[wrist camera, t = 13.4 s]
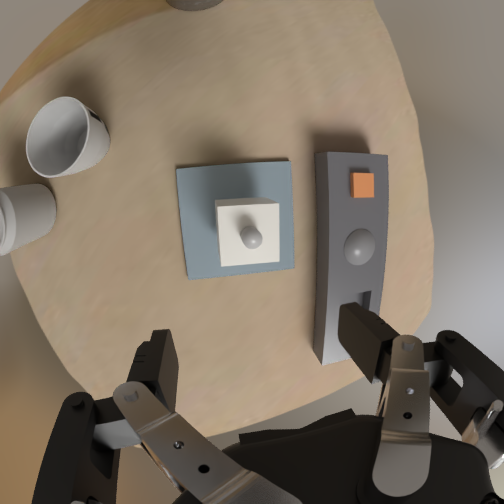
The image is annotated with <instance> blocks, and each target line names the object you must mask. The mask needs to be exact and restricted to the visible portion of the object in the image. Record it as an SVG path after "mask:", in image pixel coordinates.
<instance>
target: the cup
mask: <svg viewBox="0 0 504 504" xmlns="http://www.w3.org/2000/svg"><path fill="white" fill-rule="evenodd" d="M109 146H110V137H109V133H108V130H107V127H106V125H105V124H104V123H103V121H102V120H101V119H100V118H99V117H98V115H97V114H96V113H95V112H94V111H93V110H91V109H90V108H88V107H87V106H86V105H84V104H83V103H81V102H80V101H79V100H77V99H75V98H72V97H59V98H56V99H54V100H52V101H50V102H48V103H47V104H46V105H45V106H43V107H42V108H41V109H40V111H39V112H38V113H37V114H36V116H35V117H34V119H33V121H32V123H31V125H30V128H29V130H28V134H27V139H26V154H27V158H28V161H29V163H30V165H31V167H32V169H33V170H34V171H35V172H36V173H37V174H39V175H41V176H43V177H48V178H53V177H58V176H64V175H69V174H75V173H78V172H80V171H83V170H85V169H88V168H90V167H92V166H94V165H95V164H97V163H98V162H99V161H100V160H101V159H102V158H103V157H104V156H105V155H106V154H107V152H108V149H109Z"/></svg>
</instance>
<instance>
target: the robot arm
mask: <svg viewBox="0 0 504 504" xmlns="http://www.w3.org/2000/svg"><path fill="white" fill-rule="evenodd" d="M166 1H167V2H168V3H169V4H170V5H171V6H173V7H175V8H177V9H181V10H188V11H197V10H204V9H207V8H211V7H213V6H215V5H217V4H219V3H220V2H222V1H223V0H166ZM338 339H339V342H340V344H341V345H342V346H343V348H344V349H345V350H346V352H347V353H348V354H349V356H350V357H351V358H352V359H353V361H354V362H355V363H356V365H357V366H358V367H359V368H360V370H361V371H362V372H363V374H364V375H365V376H366V378H367V379H368V380H369V382H370V383H371V384H374V383H376V382H379V381H381V382H382V383H383V384H382V387H381V391H380V397H379V402H378V407H377V411H376V415H375V416H374V415H355V413H354V412H353V410H352V409H348V410H345V411H341V412H338V413H335V414H332V415H328V416H325V417H324V418H321V419H320V420H317V421H316V422H313V423H312V424H309V425H308V426H305V427H303V428H301V429H285V430H284V429H282V430H263V431H257V432H251V433H244V434H239V439H240V442H238V443H235V444H233V445H231V446H229V447H227V448H225V449H223V450H222V451H221V450H219V449H218V448H217V447H216V446H214V445H213V444H212V443H211V442H210V441H208V440H207V439H206V438H205V437H204V436H203V435H201V434H200V433H199V432H198V431H197V430H196V429H195V428H194V427H192V426H191V425H190V424H189V423H188V422H187V421H186V420H185V419H184V418H183V417H182V416H181V415H179V414H178V413H177V412H175V404H176V392H177V380H178V370H179V365H178V358H177V354H176V350H175V346H174V343H173V339H172V335H171V331H170V330H169V329H163V330H153V333H152V336H151V339H150V341H144V342H143V343H142V344H141V345H140V346H139V347H138V348H137V351H136V354H135V357H134V360H133V363H132V366H131V369H130V372H129V375H128V378H127V381H126V383H123V384H121V385H120V386H118V387H117V388H116V389H115V390H114V392H113V396H112V397H109V398H105V399H100V400H95V401H94V399H93V398H92V396H91V395H90V394H88V393H86V392H76V393H73V394H71V395H69V396H68V397H67V398H66V399H65V400H64V402H63V404H62V407H61V409H60V412H59V414H58V417H57V419H56V422H55V425H54V428H53V431H52V433H51V436H50V439H49V442H48V445H47V448H46V451H45V454H44V457H43V461H42V464H41V467H40V471H39V475H38V478H37V482H36V487H35V490H34V495H33V499H32V504H116V492H117V479H118V468H119V459H120V450H121V448H123V447H128V446H133V445H137V444H140V445H141V447H142V448H143V449H144V451H145V452H146V453H147V454H148V456H149V457H150V458H151V459H152V460H153V462H154V463H155V464H156V465H157V466H158V468H159V469H160V470H161V471H162V472H163V473H164V474H165V476H166V477H167V478H168V479H169V480H170V482H171V483H172V484H173V485H174V486H175V487H176V488H177V489H178V490H179V491H180V492H181V493H182V494H181V495H180V496H179V497H178V498H177V499H176V500H175V501H174V502H173V503H172V504H504V499H502V498H500V497H499V496H498V495H496V493H495V492H494V489H493V486H492V483H491V480H490V475H489V469H494V468H497V467H499V466H500V465H501V464H502V463H503V462H504V371H503V370H502V369H501V368H500V367H498V366H497V365H496V364H495V363H494V362H493V361H492V360H490V359H489V358H488V357H487V356H486V355H484V354H483V353H482V352H481V351H480V350H479V349H477V348H476V347H475V346H474V345H473V344H471V343H470V342H469V341H468V340H466V339H465V338H464V337H463V336H461V335H460V334H459V333H457V332H455V331H451V330H444V331H441V332H439V333H438V334H437V337H436V341H435V342H429V343H422V341H421V340H420V339H419V338H417V337H415V336H412V335H400V334H399V333H397V332H396V331H395V330H394V329H393V328H392V327H391V326H390V325H388V324H387V323H386V322H385V321H384V320H383V319H381V318H380V317H379V316H378V315H377V314H376V313H374V312H372V311H370V310H367V309H364V308H363V307H361V306H360V305H359V304H358V303H357V302H351V303H346V304H342V305H341V306H340V308H339V320H338ZM453 369H455V370H456V371H457V372H458V373H459V374H460V375H461V376H462V378H463V387H462V388H461V387H460V386H459V385H458V384H457V383H456V381H455V380H454V379H453V378H452V377H451V374H452V371H453ZM430 397H431V398H432V400H433V401H434V402H435V403H436V404H437V406H438V407H439V408H440V409H441V411H442V412H443V413H444V414H445V415H446V417H447V418H448V419H449V421H450V422H451V423H452V424H453V426H454V427H455V428H456V430H457V431H458V432H459V433H460V435H461V436H462V441H458V440H454V439H450V438H446V437H442V436H439V435H435V434H432V433H429V419H430V417H429V416H430Z"/></svg>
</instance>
